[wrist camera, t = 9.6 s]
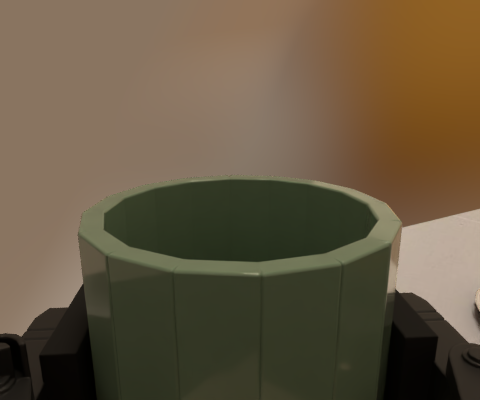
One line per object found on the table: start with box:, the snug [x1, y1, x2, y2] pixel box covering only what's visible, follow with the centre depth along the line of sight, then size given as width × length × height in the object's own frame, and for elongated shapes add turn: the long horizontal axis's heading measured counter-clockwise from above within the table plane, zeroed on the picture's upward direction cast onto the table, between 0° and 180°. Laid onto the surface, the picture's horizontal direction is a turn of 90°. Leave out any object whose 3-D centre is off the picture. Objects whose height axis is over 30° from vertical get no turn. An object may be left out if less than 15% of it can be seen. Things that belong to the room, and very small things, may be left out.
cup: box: [78, 175, 402, 400], centre depth 11 cm, size 7×7×10 cm
